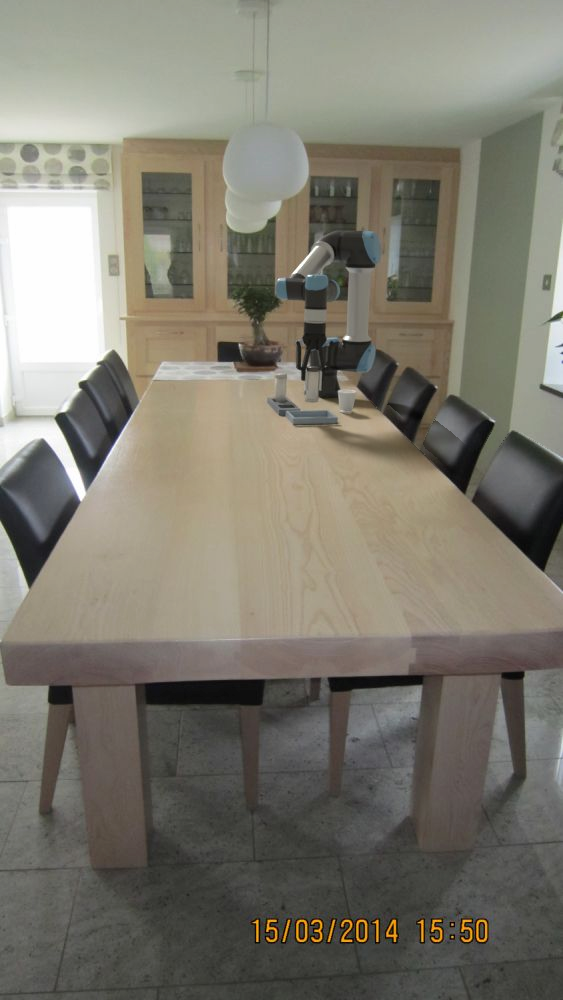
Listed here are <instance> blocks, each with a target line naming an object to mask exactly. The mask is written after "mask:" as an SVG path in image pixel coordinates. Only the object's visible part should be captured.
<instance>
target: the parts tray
mask: <svg viewBox="0 0 563 1000" xmlns="http://www.w3.org/2000/svg"><path fill="white" fill-rule="evenodd" d="M285 418H287V420H289V421H290V423H291V425H295V426H322V425H323V426H324V425H325V426H327V425H328V426H329V425H333V424H335V425H338V420H339V418H338V416H337V415H336V414H334V413H333V412H332V411H330V410H329V409H319V410H318V409H316V410H315V409H313V410H301V411H286V415H285Z"/></svg>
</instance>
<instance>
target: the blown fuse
mask: <svg viewBox="0 0 563 1000" xmlns="http://www.w3.org/2000/svg"><path fill="white" fill-rule="evenodd" d="M306 371H307V372H308V384H307V391H306V395H305V397H304V398H305V400H304V401H305V402H306V403H310V404H311V403H312V404H313V403H314V404H315V403H318V402H319V397H318V389H319V371H320V367H317V366H310V365H307V368H306Z"/></svg>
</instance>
